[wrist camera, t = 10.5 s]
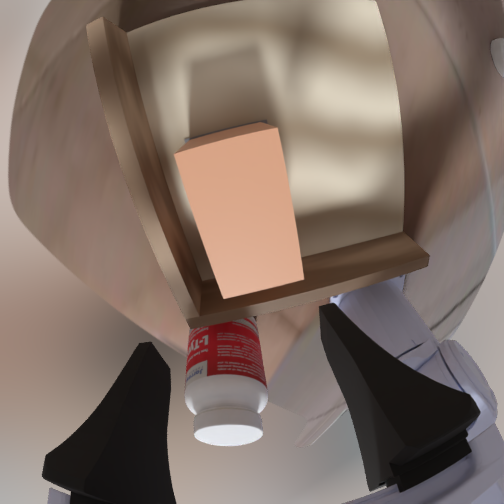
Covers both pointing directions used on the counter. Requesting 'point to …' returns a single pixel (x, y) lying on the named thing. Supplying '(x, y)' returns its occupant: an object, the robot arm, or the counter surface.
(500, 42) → the bottle
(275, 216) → the block
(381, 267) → the tray
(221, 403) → the pill bottle
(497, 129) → the counter surface
